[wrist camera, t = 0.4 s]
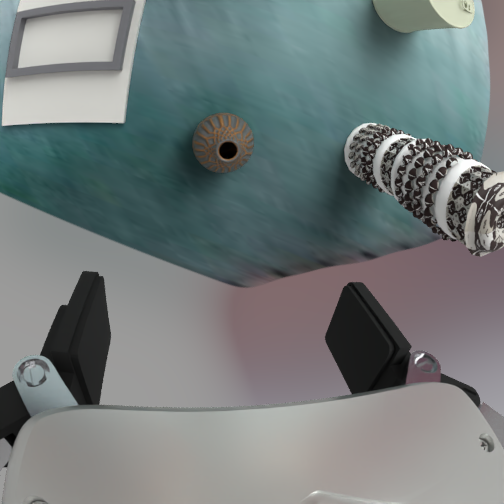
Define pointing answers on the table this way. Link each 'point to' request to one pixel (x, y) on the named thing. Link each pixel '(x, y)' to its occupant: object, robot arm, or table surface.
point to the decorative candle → (432, 184)
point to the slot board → (71, 61)
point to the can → (425, 14)
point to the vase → (223, 142)
